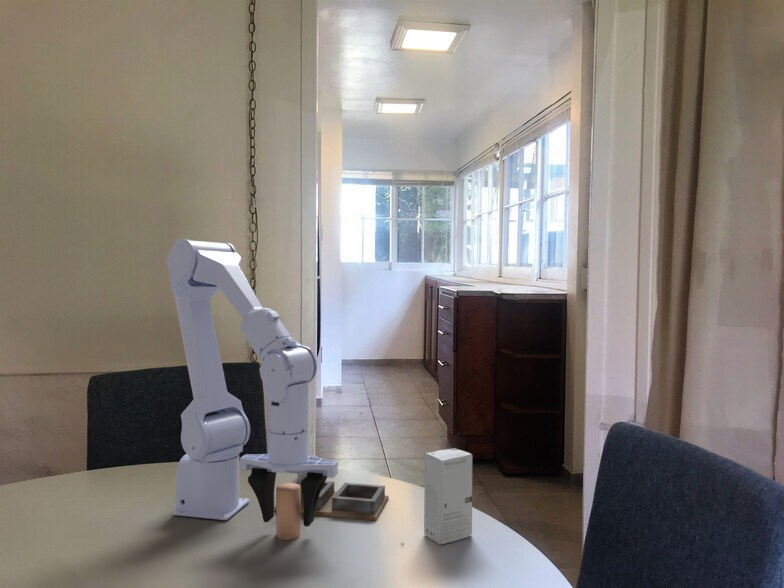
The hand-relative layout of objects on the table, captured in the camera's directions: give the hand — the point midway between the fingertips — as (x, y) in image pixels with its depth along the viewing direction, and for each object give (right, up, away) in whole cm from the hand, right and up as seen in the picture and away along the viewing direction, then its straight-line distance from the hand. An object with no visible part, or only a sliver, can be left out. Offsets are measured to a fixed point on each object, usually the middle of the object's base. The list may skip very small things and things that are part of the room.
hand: (288, 521), depth 82 cm
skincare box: (+24, -2, 0) cm, 24 cm away
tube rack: (+5, -2, +11) cm, 13 cm away
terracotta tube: (0, -2, 0) cm, 2 cm away
